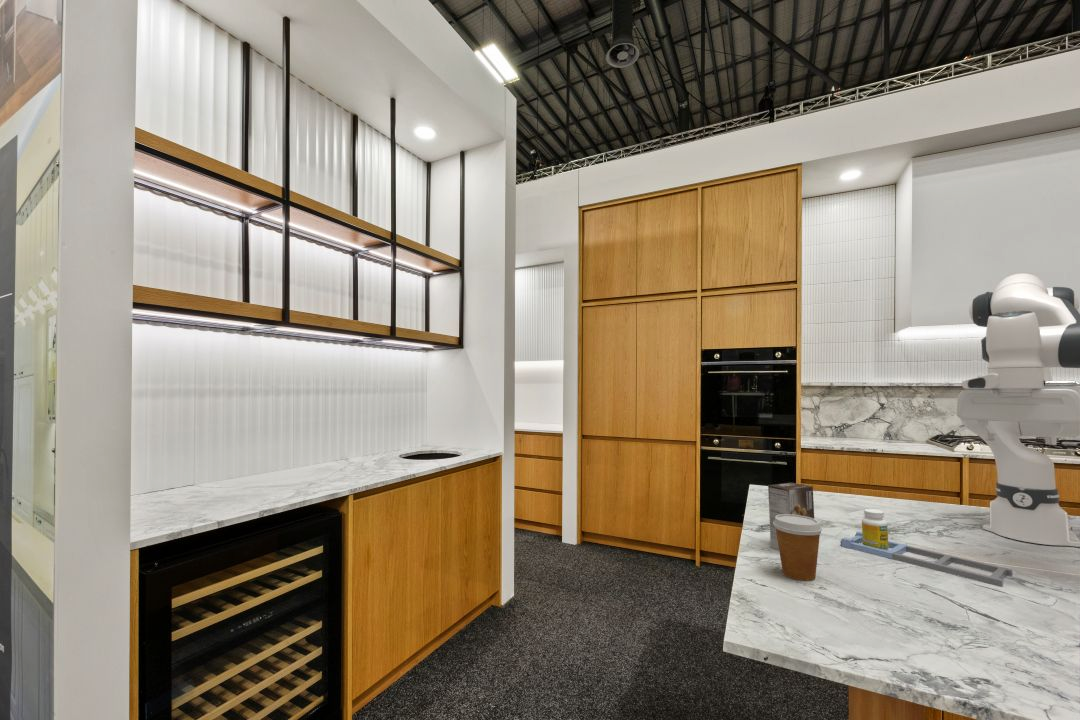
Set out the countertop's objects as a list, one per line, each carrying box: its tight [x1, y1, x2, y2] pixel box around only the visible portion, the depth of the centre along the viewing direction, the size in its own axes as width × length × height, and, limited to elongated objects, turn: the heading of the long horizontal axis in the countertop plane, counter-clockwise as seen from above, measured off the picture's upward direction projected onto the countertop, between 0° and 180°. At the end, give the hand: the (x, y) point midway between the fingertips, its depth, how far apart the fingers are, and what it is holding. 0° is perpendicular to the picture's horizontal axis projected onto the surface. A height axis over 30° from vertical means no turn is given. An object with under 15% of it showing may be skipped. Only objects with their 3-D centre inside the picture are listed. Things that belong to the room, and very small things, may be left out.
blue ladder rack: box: [839, 530, 1014, 587], centre depth 109 cm, size 11×30×2 cm, turn 35°
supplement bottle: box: [861, 508, 889, 551], centre depth 116 cm, size 5×5×10 cm
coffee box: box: [767, 482, 815, 551], centre depth 116 cm, size 9×6×16 cm
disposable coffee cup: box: [773, 514, 823, 582], centre depth 100 cm, size 10×10×12 cm
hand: (1019, 442), depth 101 cm, fingers open, 8 cm apart
